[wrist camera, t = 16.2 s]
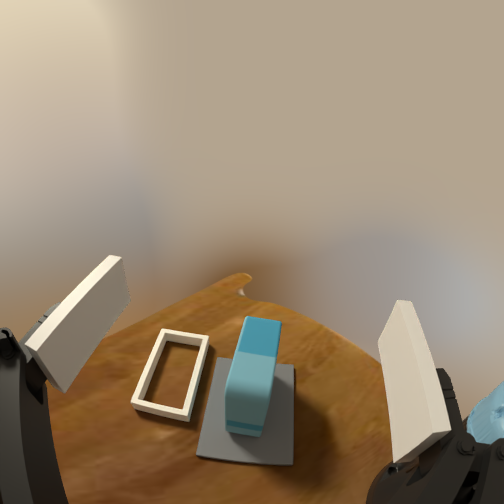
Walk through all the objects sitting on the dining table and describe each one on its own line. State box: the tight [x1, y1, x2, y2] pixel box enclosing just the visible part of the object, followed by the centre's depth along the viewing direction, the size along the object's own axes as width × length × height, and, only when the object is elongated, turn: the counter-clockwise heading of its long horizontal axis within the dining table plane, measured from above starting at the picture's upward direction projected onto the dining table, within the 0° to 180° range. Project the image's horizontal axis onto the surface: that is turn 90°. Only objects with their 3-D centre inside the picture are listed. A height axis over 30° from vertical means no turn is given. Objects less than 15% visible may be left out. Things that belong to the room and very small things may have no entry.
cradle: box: [131, 328, 209, 422], centre depth 38 cm, size 8×15×2 cm, turn 175°
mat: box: [196, 357, 294, 466], centre depth 35 cm, size 12×17×1 cm
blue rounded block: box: [224, 316, 282, 437], centre depth 32 cm, size 12×4×12 cm, turn 170°
